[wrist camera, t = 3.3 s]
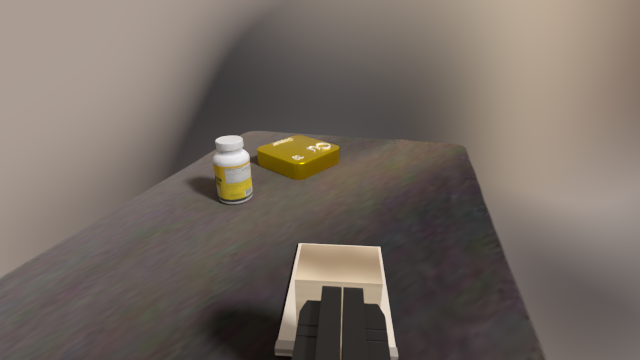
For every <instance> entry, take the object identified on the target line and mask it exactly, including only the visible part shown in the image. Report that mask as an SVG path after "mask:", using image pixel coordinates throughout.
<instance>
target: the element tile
mask: <svg viewBox="0 0 640 360" xmlns="http://www.w3.org/2000/svg"><path fill="white" fill-rule="evenodd" d="M339 152H340V148H339V146H337V145H334V144H330V143H327V142H323V141H320V140H316V139H313V138H309V137H306V136H302V135H295V136H292V137H289V138H286V139H282V140H279V141H276V142H273V143H270V144H267V145H264V146H261V147H258V148H257V158H258V165H259V166H262V167H264V168H266V169H269V170H271V171H274V172H276V173H279V174H281V175H284V176H286V177H289V178H291V179H295V180H302V179H306V178H308V177H310V176H312V175H315V174H317V173H319V172H321V171H323V170H325V169H328V168H330V167H332V166H334V165H336V164H338V163H339Z"/></svg>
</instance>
